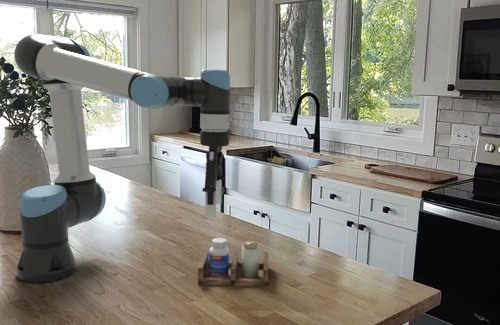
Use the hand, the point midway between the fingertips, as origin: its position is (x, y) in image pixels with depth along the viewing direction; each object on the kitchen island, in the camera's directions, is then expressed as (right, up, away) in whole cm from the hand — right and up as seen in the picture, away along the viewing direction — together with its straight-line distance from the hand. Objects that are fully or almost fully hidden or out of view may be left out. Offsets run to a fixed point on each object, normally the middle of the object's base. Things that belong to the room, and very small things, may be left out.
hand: (213, 209), depth 129 cm
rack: (+5, -19, +2) cm, 20 cm away
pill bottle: (+1, -18, +2) cm, 18 cm away
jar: (+10, -18, +2) cm, 21 cm away
